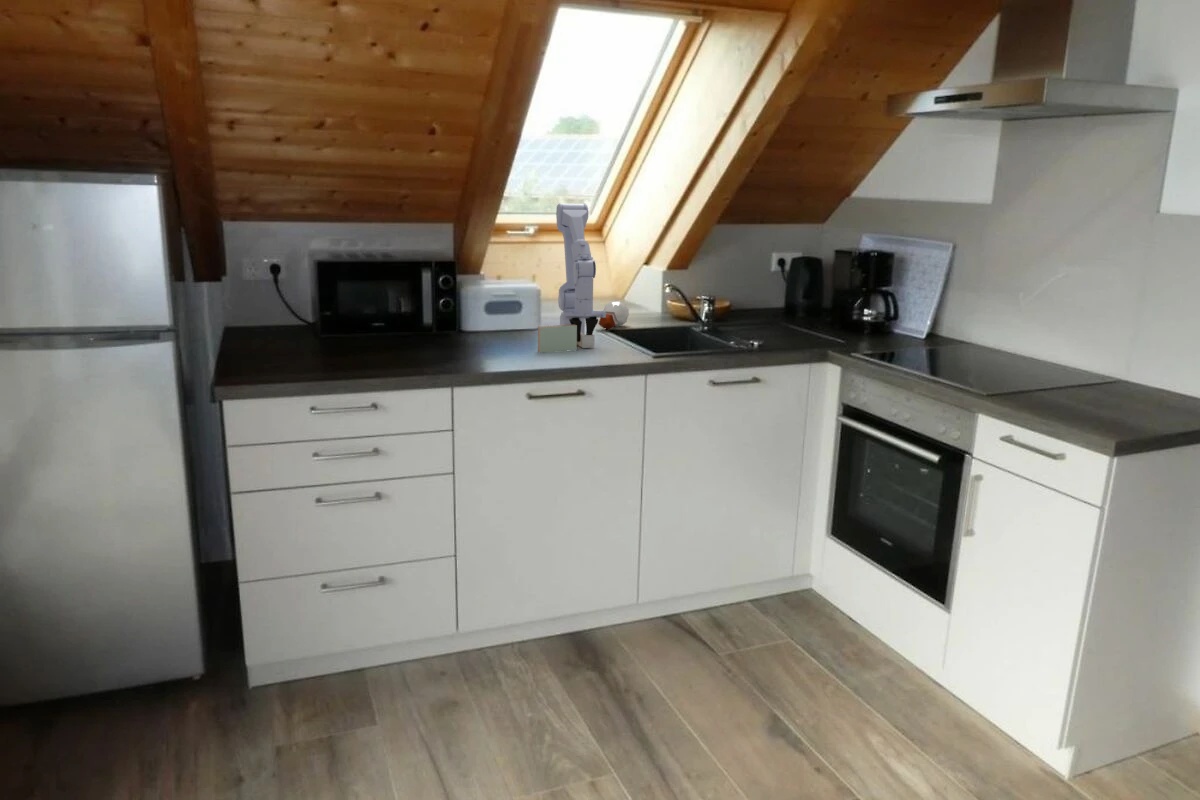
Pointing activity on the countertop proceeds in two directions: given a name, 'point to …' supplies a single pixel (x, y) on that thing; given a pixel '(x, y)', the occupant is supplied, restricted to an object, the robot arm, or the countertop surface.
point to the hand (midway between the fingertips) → (583, 340)
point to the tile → (557, 338)
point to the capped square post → (586, 341)
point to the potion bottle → (614, 315)
